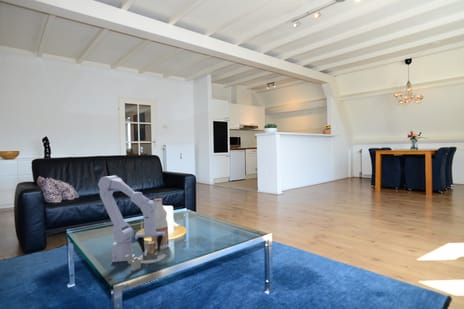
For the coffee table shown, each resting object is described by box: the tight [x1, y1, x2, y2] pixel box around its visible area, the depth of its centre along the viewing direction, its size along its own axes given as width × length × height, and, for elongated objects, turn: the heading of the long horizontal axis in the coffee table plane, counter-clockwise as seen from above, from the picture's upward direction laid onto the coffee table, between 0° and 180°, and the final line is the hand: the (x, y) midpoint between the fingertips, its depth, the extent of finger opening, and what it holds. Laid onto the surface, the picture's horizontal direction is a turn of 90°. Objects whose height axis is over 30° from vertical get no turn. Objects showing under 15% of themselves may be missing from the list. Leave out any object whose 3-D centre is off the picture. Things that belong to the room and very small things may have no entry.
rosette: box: [138, 249, 167, 265], centre depth 142 cm, size 14×14×4 cm
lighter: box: [125, 254, 142, 272], centre depth 129 cm, size 7×2×8 cm, turn 144°
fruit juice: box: [150, 197, 170, 251], centre depth 160 cm, size 9×9×28 cm
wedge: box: [146, 241, 155, 254], centre depth 142 cm, size 3×5×7 cm, turn 6°
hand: (151, 251), depth 142 cm, fingers open, 7 cm apart
